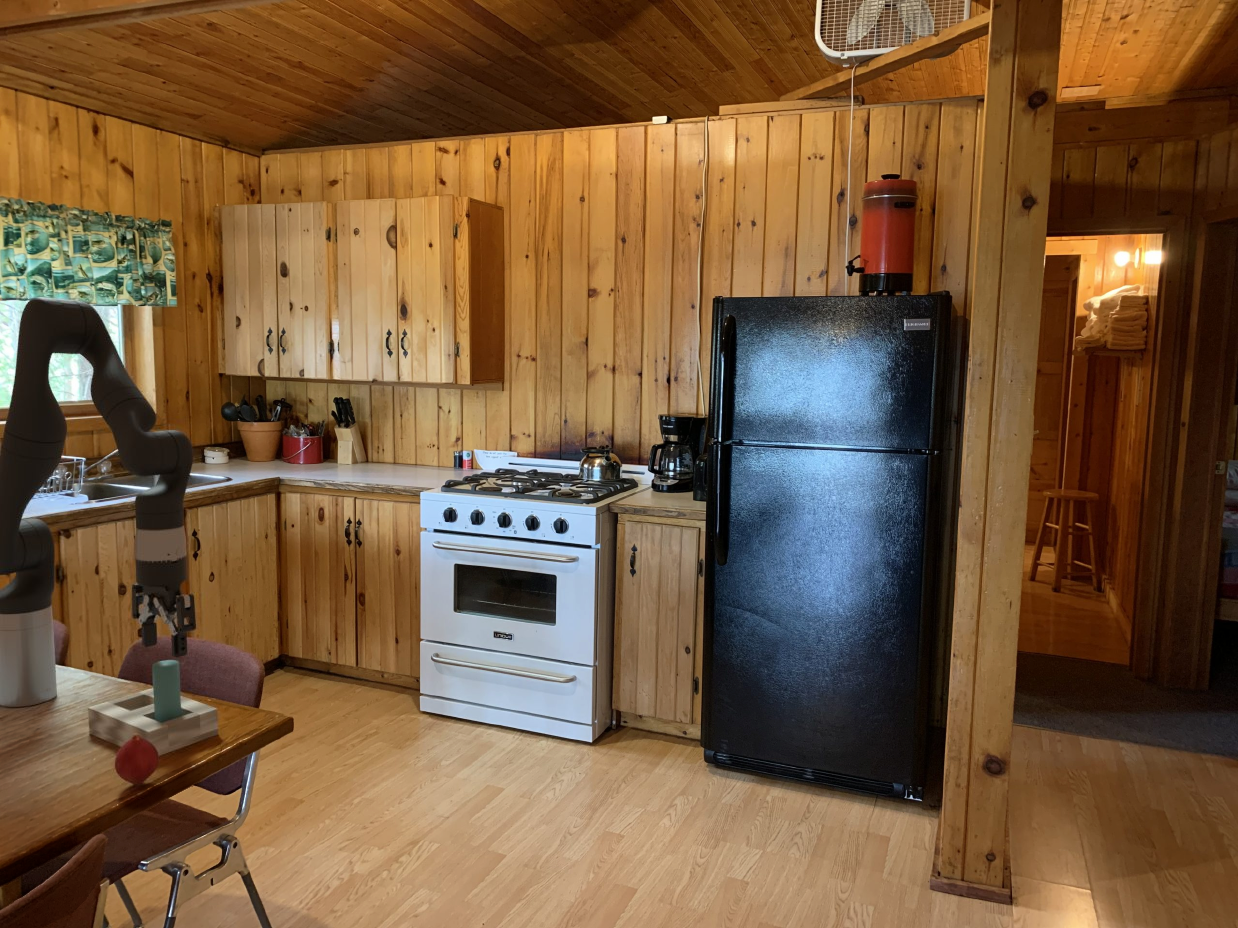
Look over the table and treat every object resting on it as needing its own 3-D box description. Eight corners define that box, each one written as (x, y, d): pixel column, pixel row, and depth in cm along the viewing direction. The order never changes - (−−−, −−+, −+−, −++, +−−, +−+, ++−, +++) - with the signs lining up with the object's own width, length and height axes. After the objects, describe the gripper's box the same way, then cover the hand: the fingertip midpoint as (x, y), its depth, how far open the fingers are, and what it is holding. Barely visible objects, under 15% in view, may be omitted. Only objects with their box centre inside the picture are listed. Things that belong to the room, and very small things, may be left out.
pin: (150, 735, 156) (146, 664, 155) (173, 727, 160) (170, 658, 158) (164, 740, 154) (160, 669, 153) (187, 732, 157) (183, 662, 156)
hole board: (89, 733, 159) (87, 707, 159) (157, 711, 169) (156, 686, 169) (150, 759, 150) (148, 731, 149) (218, 734, 159) (217, 708, 159)
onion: (110, 784, 141) (107, 732, 140) (151, 772, 145) (149, 722, 144) (123, 797, 137) (120, 744, 136) (165, 785, 141) (162, 733, 140)
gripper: (114, 551, 154) (118, 648, 156) (164, 564, 146) (168, 665, 148) (158, 544, 160) (161, 637, 162) (208, 556, 152) (211, 653, 154)
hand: (164, 650), depth 155 cm, fingers open, 8 cm apart
